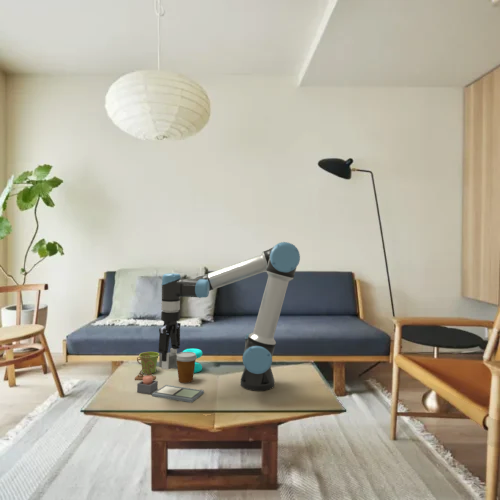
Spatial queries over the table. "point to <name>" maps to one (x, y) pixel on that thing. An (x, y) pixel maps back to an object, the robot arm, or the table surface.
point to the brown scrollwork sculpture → (144, 367)
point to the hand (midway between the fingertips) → (169, 366)
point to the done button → (147, 380)
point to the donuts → (198, 353)
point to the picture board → (178, 393)
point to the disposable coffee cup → (186, 366)
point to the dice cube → (171, 360)
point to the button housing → (147, 387)
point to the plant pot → (152, 357)
